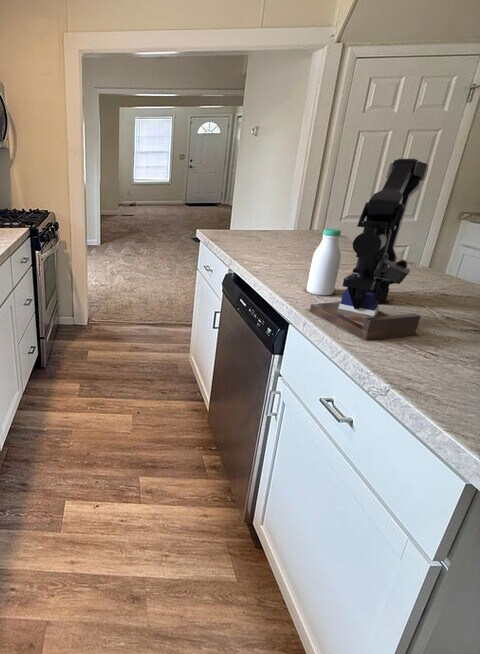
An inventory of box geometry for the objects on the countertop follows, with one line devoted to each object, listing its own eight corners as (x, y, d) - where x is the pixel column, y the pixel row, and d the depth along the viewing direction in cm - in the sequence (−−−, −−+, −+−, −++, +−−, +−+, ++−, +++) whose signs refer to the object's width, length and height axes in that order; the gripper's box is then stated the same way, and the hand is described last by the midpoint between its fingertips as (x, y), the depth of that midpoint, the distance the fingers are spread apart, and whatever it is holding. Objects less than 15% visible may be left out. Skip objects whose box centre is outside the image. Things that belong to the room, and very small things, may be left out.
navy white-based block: (338, 308, 110) (342, 291, 108) (343, 304, 112) (347, 287, 111) (374, 316, 104) (378, 298, 102) (378, 311, 107) (382, 294, 105)
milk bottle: (338, 295, 125) (352, 231, 118) (313, 296, 125) (326, 231, 118) (325, 288, 132) (338, 227, 125) (301, 288, 133) (313, 227, 125)
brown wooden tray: (309, 310, 114) (312, 294, 112) (352, 306, 116) (356, 290, 114) (365, 339, 96) (370, 320, 94) (415, 334, 98) (421, 315, 96)
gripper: (404, 261, 91) (386, 324, 96) (418, 247, 103) (402, 304, 109) (349, 253, 98) (335, 313, 104) (368, 242, 110) (355, 296, 116)
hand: (358, 306), depth 108 cm, fingers open, 5 cm apart
